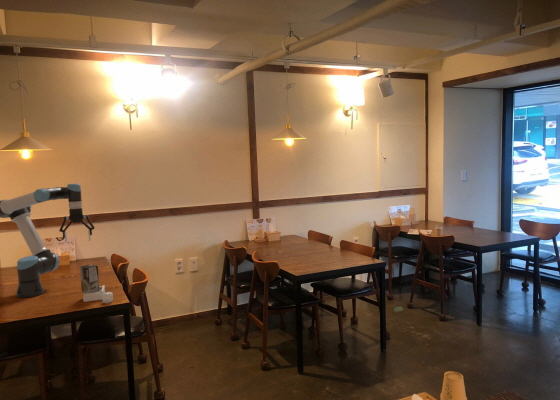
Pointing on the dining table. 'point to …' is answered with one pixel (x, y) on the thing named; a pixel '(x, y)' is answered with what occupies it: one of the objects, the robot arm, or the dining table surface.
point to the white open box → (94, 295)
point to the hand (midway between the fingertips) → (78, 241)
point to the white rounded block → (107, 297)
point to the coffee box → (89, 279)
